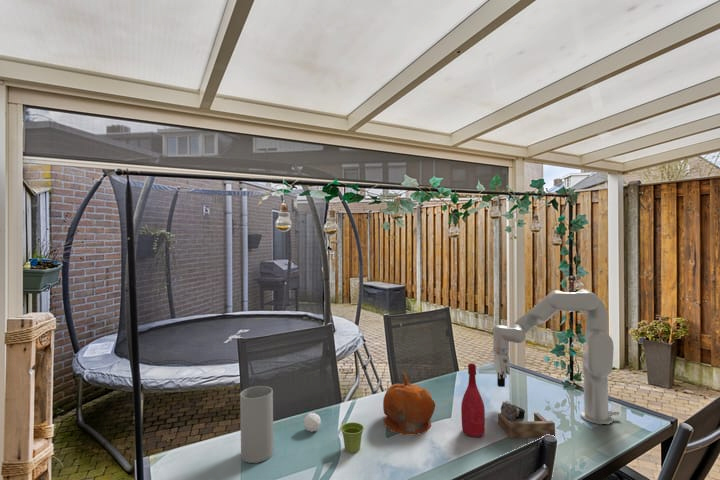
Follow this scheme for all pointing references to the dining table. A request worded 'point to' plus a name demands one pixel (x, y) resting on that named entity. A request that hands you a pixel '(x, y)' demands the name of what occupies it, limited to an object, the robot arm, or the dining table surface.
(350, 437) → the plant pot
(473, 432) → the wine bottle
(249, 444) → the cylinder vase
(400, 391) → the pumpkin
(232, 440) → the dining table surface
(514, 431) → the brown wooden frame
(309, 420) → the geometric ball
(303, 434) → the dining table surface
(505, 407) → the caster wheel
